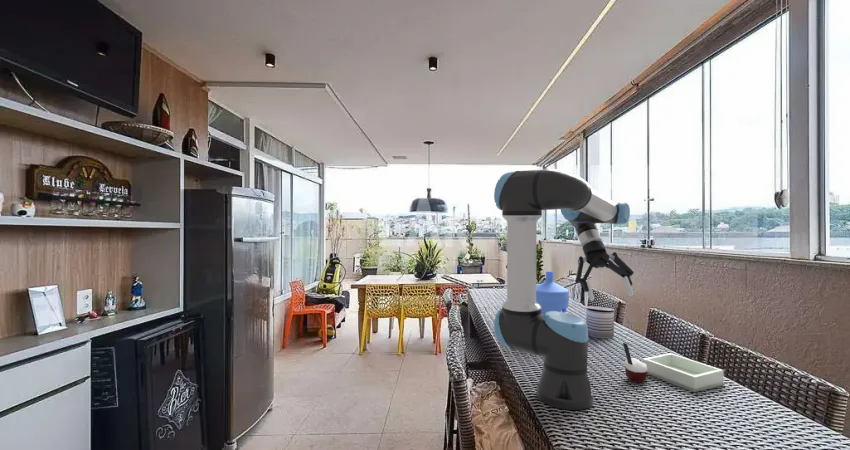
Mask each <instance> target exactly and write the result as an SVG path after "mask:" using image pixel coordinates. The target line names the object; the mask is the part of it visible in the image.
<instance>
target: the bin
mask: <svg viewBox="0 0 850 450" xmlns="http://www.w3.org/2000/svg"><path fill="white" fill-rule="evenodd" d="M642 362H643V363H645V364H646V365H647V369H648V370H647V375H648V374H649V376H651V375H652V376H651V377H654V376H655V377H654V378H656V377H657V378H656V379H659V378H660V379H659V380H661V379H662V380H661V381H664V380H665V381H664V382H666V381H667V383H669V382H670V383H669V384H672V385H674V384H675V386H677V387H679V386H680V387H679V388H682V389H684V388H685V390H687V391H690V392H691V393H692V392H693V393H697V392H701V391H705V390H708V389H712V388H716V387H720V386H723V385H724V376H725V375H724V373H725V371H724V369H721V368H718V367H714V366H712V365H708V364H705V363H704V362H703V363H702V362H700V361H697V360H694V359H690V358H686V357H684V356H681V355H678V354H675V353H671V352H669V353H664V354H659V355H654V356H649V357H644V358H642Z"/></svg>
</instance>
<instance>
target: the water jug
mask: <svg viewBox="0 0 850 450" xmlns="http://www.w3.org/2000/svg"><path fill="white" fill-rule="evenodd" d="M554 274H555V273H554V272H553V271H545V281H544V282H542V283H539V284H536V301H537V303H538V304H539V305H540V306H541V314H542V315H545V313H546V312H549V311H557V312H565V313H567V308H568V307H569V304H570V303H569V301H570V295H569V293H570V292H569V289H567V288H565V287H563V286H562V285H560V284H558V283H556V282H554Z"/></svg>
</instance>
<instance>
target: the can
mask: <svg viewBox="0 0 850 450" xmlns="http://www.w3.org/2000/svg"><path fill="white" fill-rule="evenodd" d="M585 313H586V316H585V317H586V319H585V322H586V324H587V328H588V337H589V336H590V337H593V338H599V339H611V338H613V337H615V335H614V333H615V309H614V308H611V307H605V306H604V307H603V306H593V305H590V306H586V312H585Z"/></svg>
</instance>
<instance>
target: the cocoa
mask: <svg viewBox="0 0 850 450" xmlns="http://www.w3.org/2000/svg"><path fill="white" fill-rule="evenodd" d="M622 344H623V349H624V353H625V356H626V357H625V358H626V359H625V360H624V369H625V375H626V378H627V379H629V381H632V382H633V383H642V382H645V380H646V378H647V376H648V374H647V370H648V369H647V365H646V364H645V363H643V361H640V360H639V359H638V358H633V357H631V353H630V350H629V349H630V348H629V346H628V344H627V343H626V342H623V343H622Z"/></svg>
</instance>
